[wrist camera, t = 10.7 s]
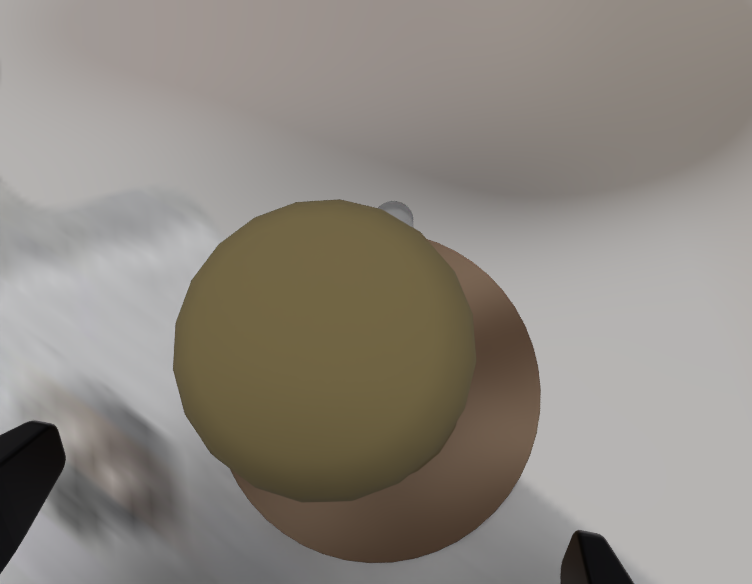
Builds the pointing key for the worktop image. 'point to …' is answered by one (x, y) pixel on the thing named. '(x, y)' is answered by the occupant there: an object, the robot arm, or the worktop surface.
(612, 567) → the robot arm
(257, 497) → the walnut plate
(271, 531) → the worktop surface
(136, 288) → the worktop surface
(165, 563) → the worktop surface
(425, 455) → the cork
